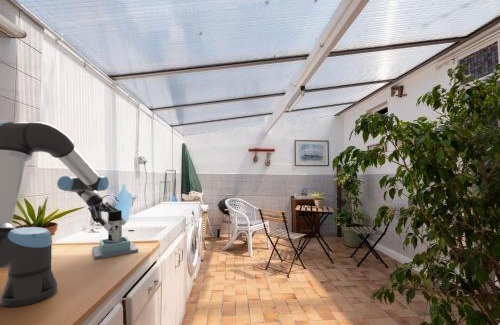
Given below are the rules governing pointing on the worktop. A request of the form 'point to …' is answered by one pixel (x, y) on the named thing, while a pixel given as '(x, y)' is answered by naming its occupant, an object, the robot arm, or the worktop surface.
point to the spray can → (115, 226)
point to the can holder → (114, 248)
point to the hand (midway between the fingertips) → (117, 226)
